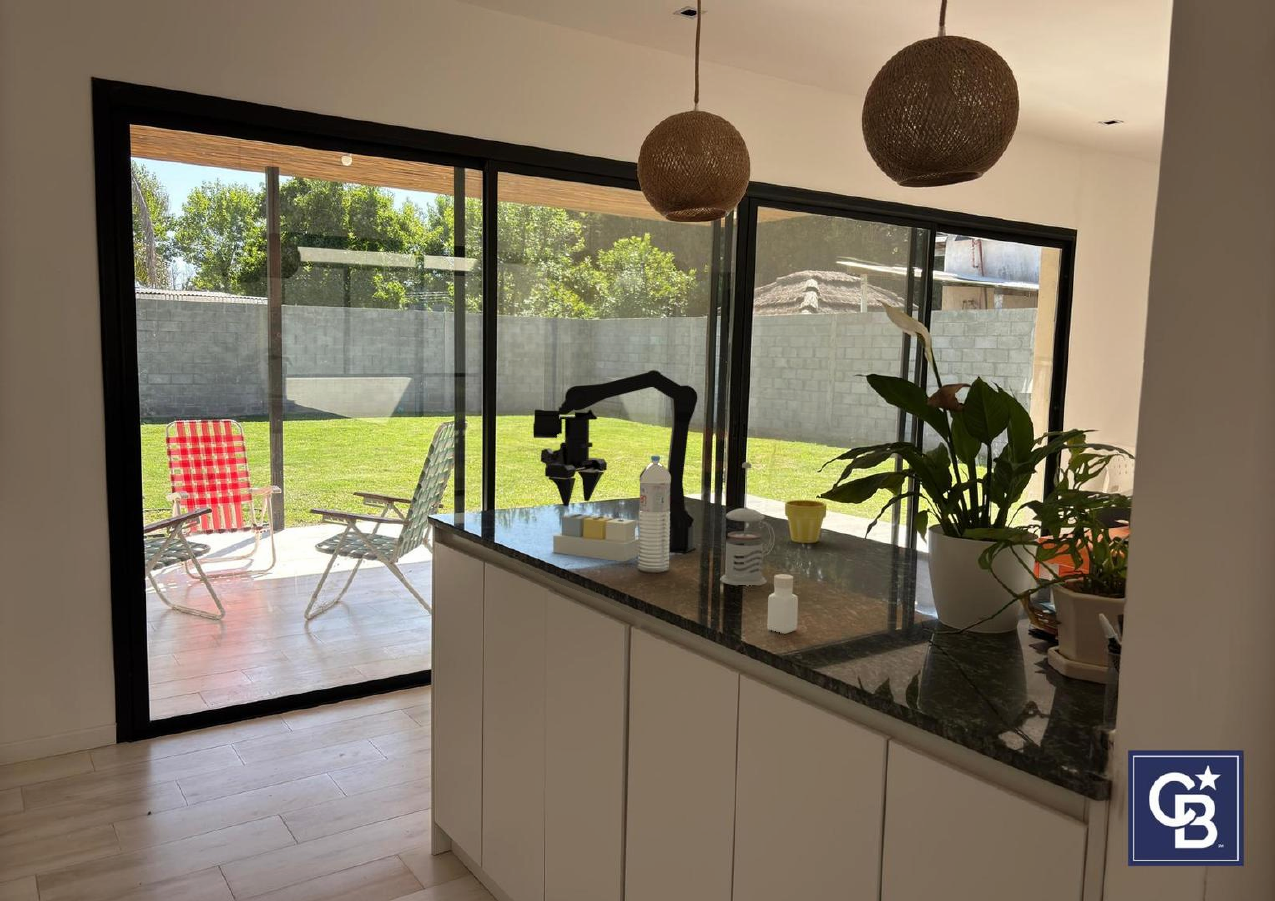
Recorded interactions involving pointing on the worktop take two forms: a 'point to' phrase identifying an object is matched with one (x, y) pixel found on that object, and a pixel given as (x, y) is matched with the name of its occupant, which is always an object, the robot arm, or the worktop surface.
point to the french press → (745, 548)
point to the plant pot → (805, 519)
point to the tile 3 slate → (573, 524)
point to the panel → (595, 547)
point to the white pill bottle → (782, 605)
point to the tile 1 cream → (620, 530)
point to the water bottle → (654, 518)
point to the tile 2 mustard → (595, 527)
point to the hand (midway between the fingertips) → (576, 503)
